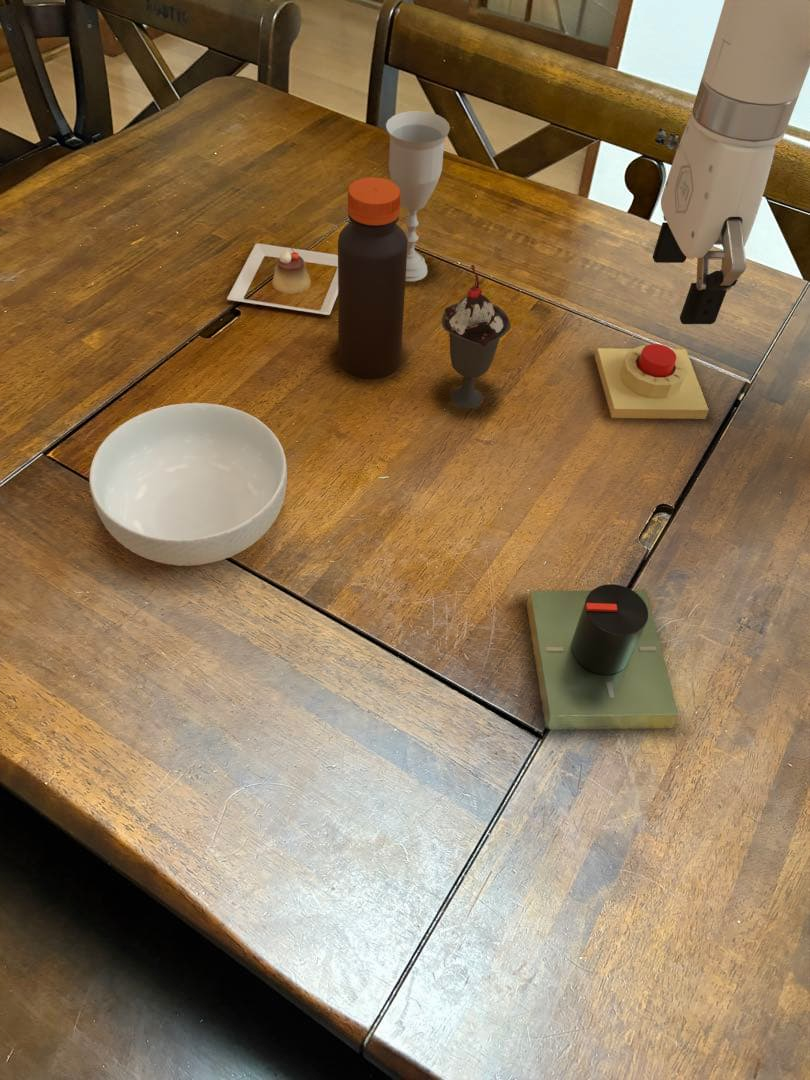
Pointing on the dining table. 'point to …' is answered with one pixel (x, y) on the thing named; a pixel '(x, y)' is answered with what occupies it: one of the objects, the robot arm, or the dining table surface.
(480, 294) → the sundae
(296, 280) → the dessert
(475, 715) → the dining table surface
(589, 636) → the hob knob
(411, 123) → the chalice
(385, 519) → the dining table surface
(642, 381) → the switch
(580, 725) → the panel
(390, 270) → the bottle
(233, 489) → the cereal bowl
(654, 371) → the button
